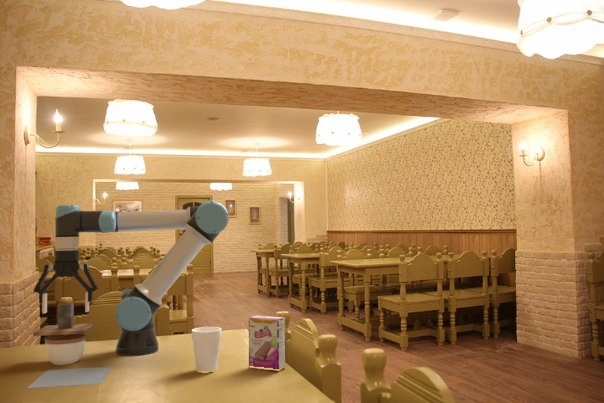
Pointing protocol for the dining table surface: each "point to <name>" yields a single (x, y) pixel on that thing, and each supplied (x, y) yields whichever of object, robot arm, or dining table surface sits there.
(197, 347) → the foam cup
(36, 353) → the dining table surface
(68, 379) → the mat
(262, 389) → the dining table surface
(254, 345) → the candy bar box
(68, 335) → the lidded bowl
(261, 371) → the dining table surface
